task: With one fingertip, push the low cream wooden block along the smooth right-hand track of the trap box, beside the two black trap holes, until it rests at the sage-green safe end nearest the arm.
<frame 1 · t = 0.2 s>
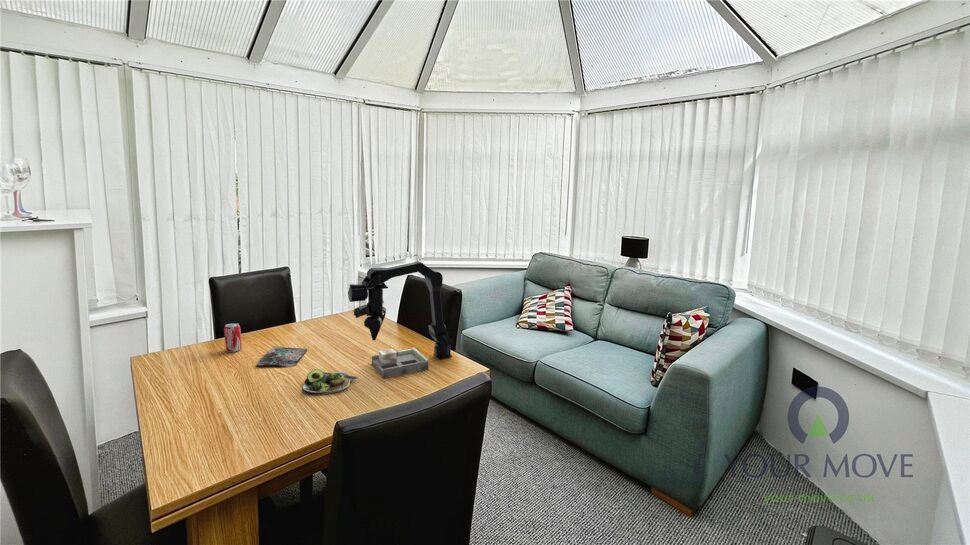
hand: (375, 336, 178), 14 cm above the table, fingers open, 9 cm apart
soda can: (234, 350, 195), on the table
salad plate: (326, 385, 166), on the table
trap box: (399, 366, 184), on the table
cream block: (387, 360, 184), point 2 cm above the table, touching trap box
terrain model: (284, 359, 189), on the table
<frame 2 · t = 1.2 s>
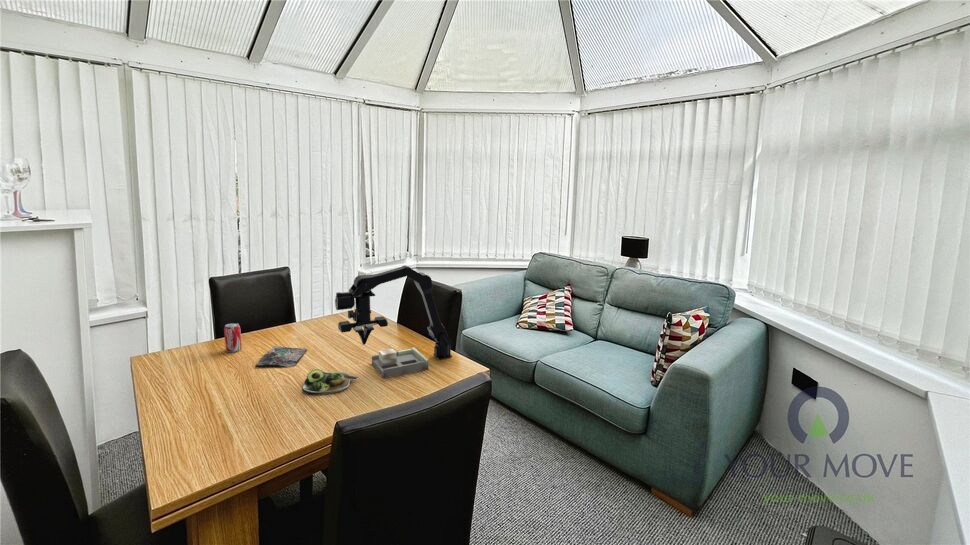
hand: (363, 344, 177), 11 cm above the table, fingers closed
nothing on the table moved.
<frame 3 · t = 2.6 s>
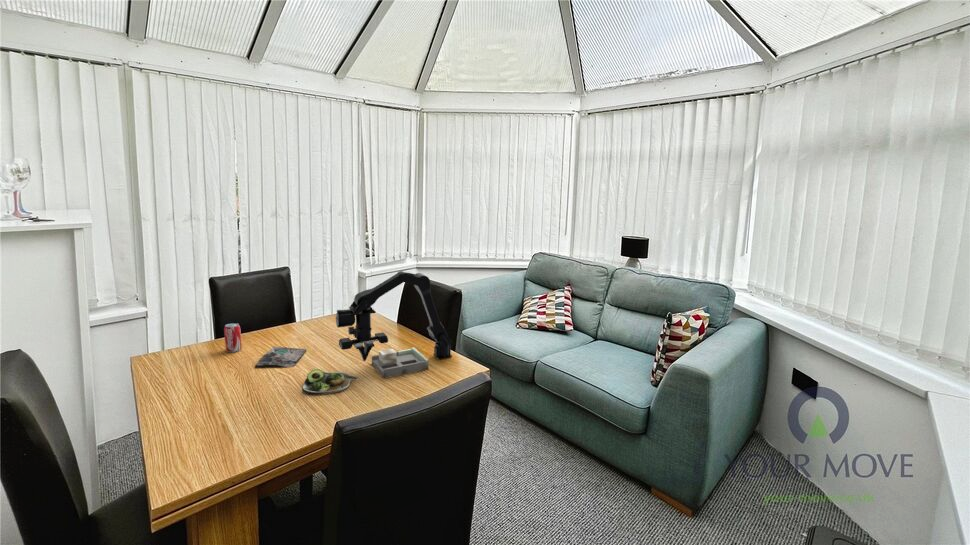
hand: (364, 360, 179), 4 cm above the table, fingers closed
nothing on the table moved.
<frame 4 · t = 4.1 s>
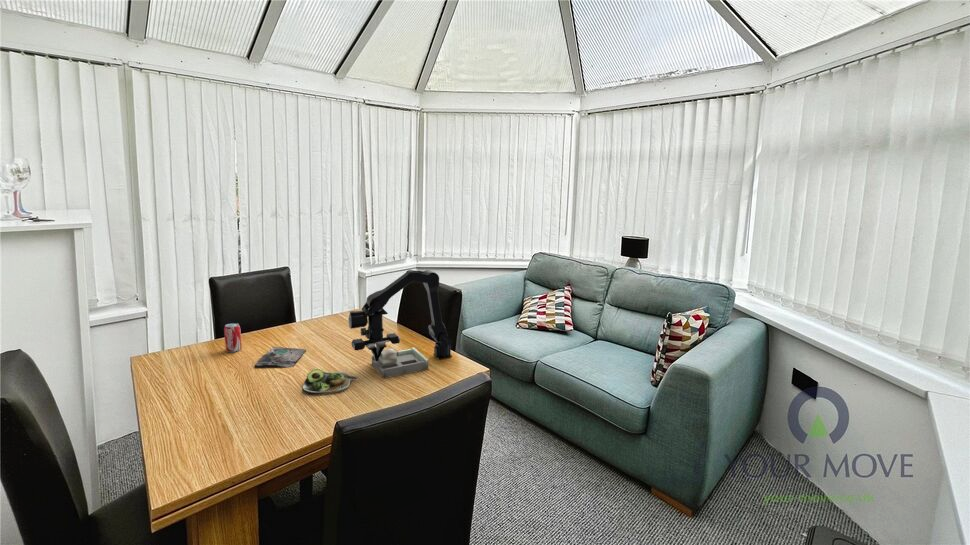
hand: (376, 360, 182), 3 cm above the table, fingers closed
cream block: (387, 360, 184), point 2 cm above the table, touching gripper, trap box
everything else where it was.
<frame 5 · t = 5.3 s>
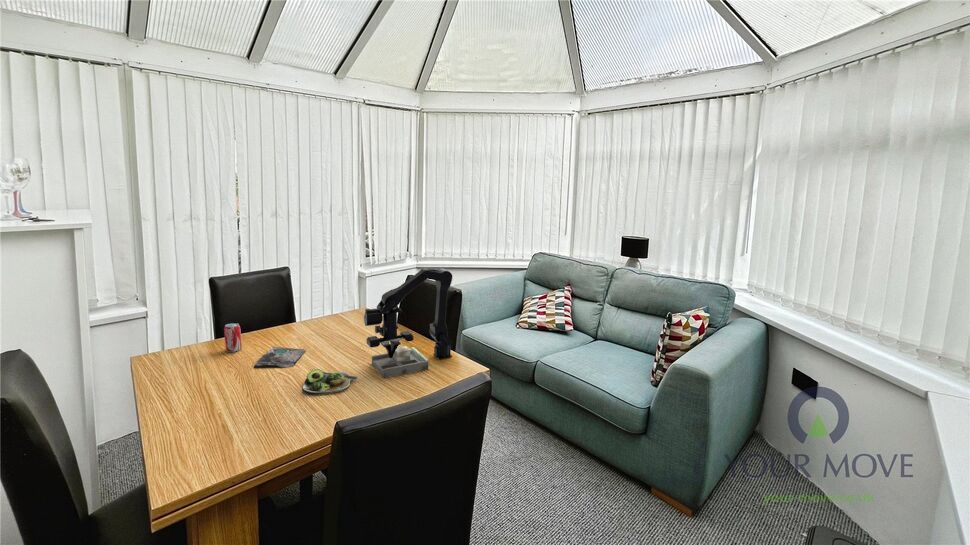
hand: (390, 358, 185), 3 cm above the table, fingers closed
cream block: (401, 358, 187), point 2 cm above the table, touching trap box
everything else where it was.
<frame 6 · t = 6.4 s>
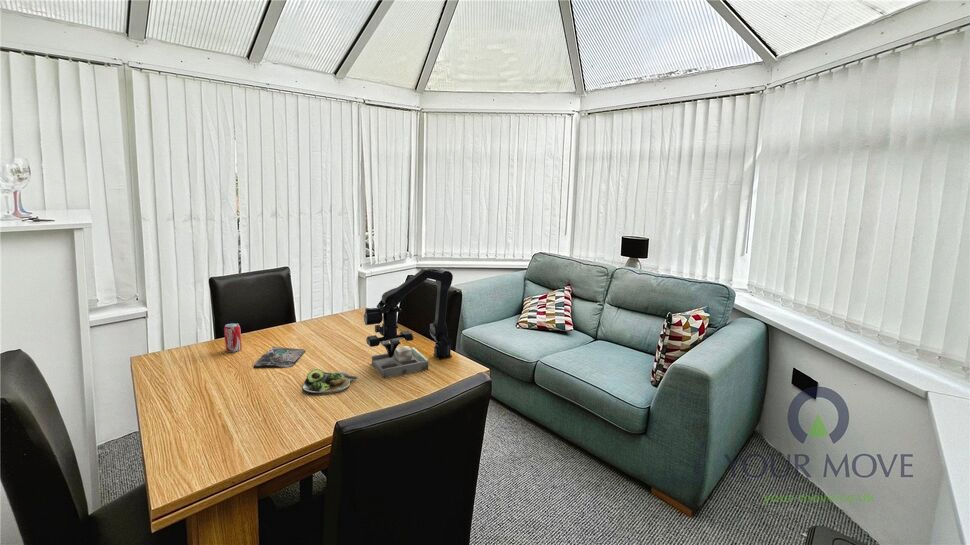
hand: (390, 357, 185), 3 cm above the table, fingers closed
nothing on the table moved.
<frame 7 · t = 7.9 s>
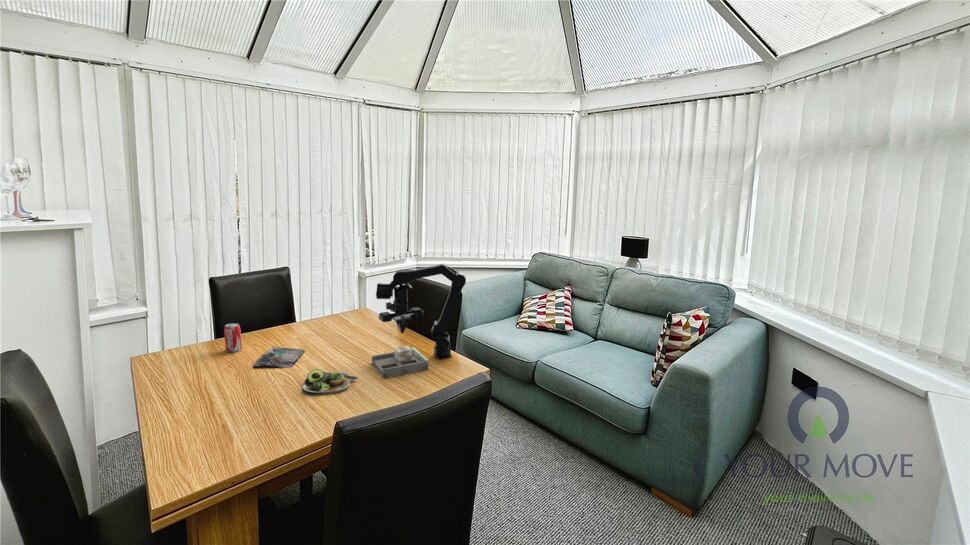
hand: (401, 333, 193), 11 cm above the table, fingers closed
nothing on the table moved.
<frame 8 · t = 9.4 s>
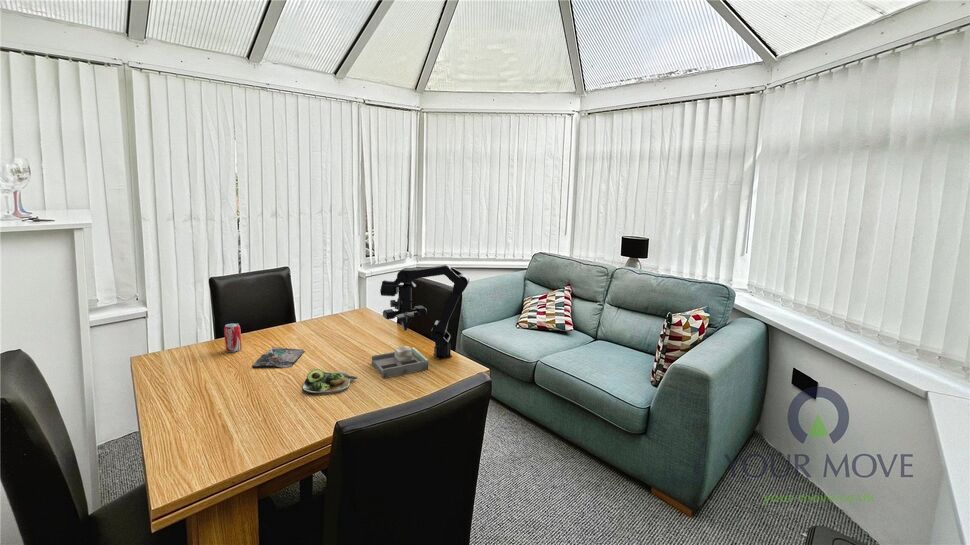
hand: (405, 330, 195), 11 cm above the table, fingers closed
at the end: cream block 2.5 cm from the target spot on the trap box, point 2.0 cm above the trap box's base; cream block tilted 0°; cream block moved 6.8 cm from its start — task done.
